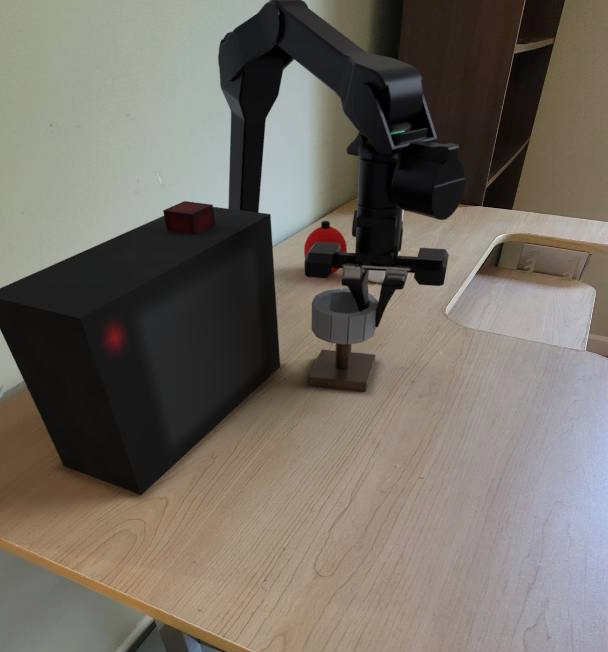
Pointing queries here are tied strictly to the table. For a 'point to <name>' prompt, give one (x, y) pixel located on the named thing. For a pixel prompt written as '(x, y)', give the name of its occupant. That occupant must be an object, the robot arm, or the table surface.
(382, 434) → the table surface
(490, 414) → the table surface
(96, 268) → the speaker
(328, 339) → the tape
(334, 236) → the ornament
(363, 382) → the stand
